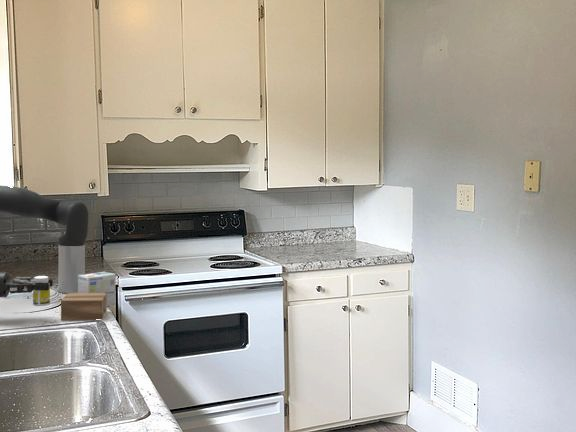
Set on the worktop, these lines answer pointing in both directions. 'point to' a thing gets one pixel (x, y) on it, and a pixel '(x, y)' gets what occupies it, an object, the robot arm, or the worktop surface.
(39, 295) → the supplement bottle
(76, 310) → the walnut block
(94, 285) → the light bulb box
